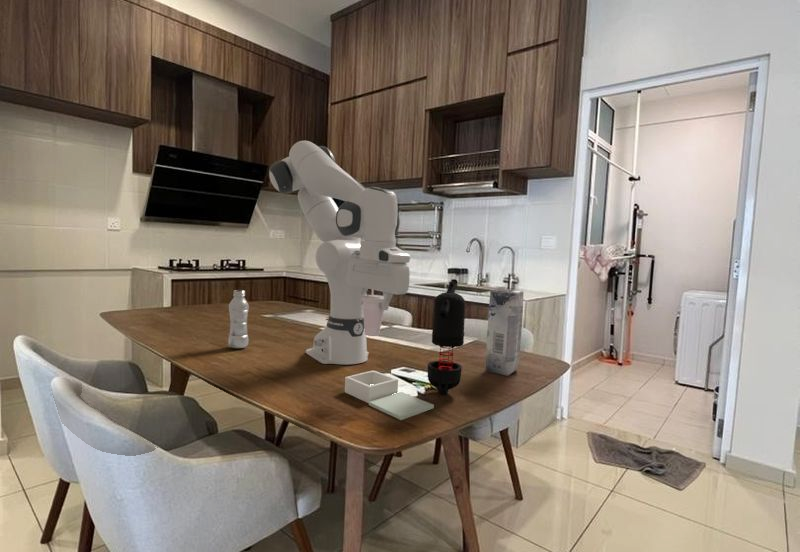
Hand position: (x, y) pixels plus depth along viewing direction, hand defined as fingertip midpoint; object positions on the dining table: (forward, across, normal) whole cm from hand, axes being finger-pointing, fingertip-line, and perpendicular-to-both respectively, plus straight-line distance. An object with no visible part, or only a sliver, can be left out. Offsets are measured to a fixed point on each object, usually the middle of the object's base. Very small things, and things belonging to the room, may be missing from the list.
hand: (374, 307), depth 107 cm
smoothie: (+7, 0, 0) cm, 7 cm away
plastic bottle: (+24, -60, -8) cm, 65 cm away
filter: (+22, +13, +14) cm, 29 cm away
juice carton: (+22, +11, +46) cm, 52 cm away
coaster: (+22, +12, 0) cm, 25 cm away
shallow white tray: (+22, +1, 0) cm, 22 cm away
